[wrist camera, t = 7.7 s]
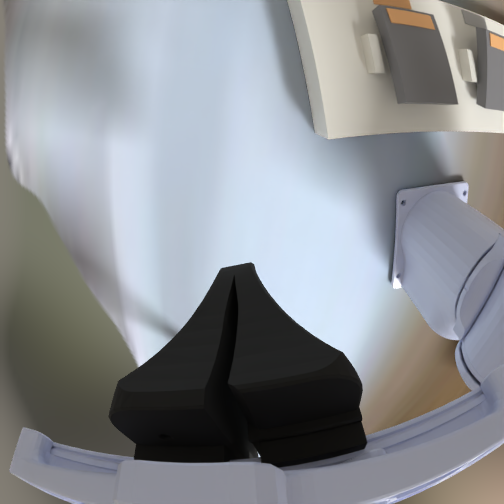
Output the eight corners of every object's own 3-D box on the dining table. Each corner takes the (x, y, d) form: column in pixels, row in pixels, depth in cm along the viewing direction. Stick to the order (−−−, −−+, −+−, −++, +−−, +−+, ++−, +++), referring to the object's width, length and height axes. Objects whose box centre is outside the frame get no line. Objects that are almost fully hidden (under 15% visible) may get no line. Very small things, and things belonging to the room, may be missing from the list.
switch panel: (537, 131, 16) (561, 141, 13) (314, 133, 18) (333, 142, 14) (529, 47, 11) (554, 50, 8) (285, -4, 12) (298, -26, 9)
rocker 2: (505, 108, 13) (514, 113, 12) (476, 103, 13) (486, 108, 12) (506, 39, 9) (516, 42, 8) (475, 26, 9) (486, 29, 8)
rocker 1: (448, 105, 12) (459, 104, 11) (397, 104, 12) (407, 102, 11) (425, 19, 10) (434, 14, 9) (371, 11, 10) (379, 4, 9)
